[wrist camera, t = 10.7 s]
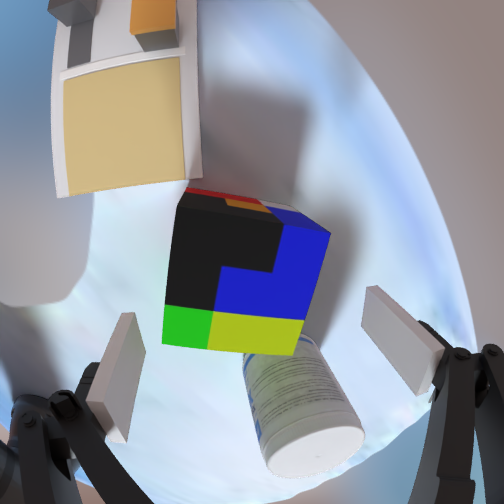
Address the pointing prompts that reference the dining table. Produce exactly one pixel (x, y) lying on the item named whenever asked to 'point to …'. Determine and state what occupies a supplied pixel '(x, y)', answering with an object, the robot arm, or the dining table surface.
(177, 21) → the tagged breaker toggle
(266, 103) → the dining table surface
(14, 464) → the robot arm
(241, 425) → the dining table surface
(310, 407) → the supplement tub
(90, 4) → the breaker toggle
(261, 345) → the puzzle toy
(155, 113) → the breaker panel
